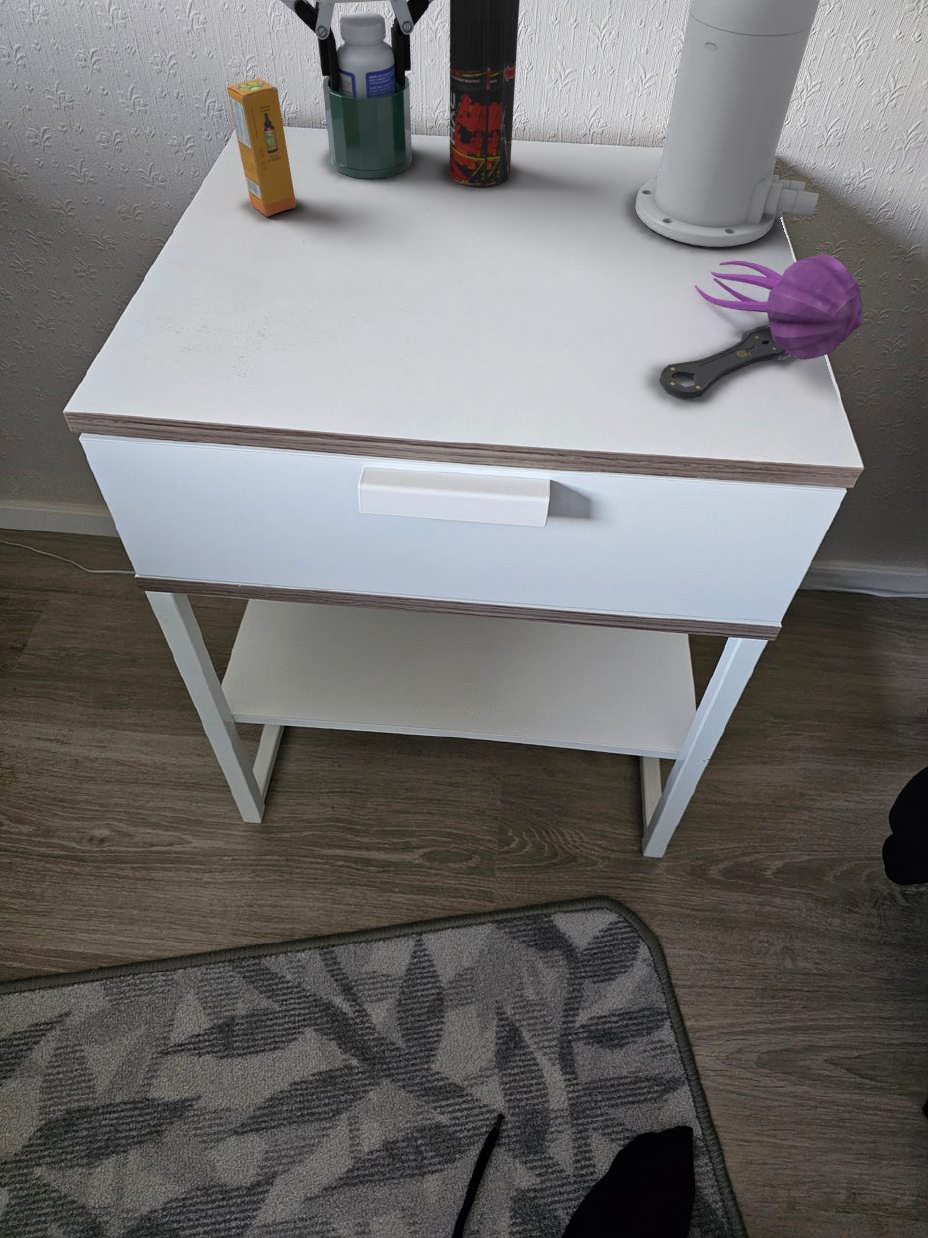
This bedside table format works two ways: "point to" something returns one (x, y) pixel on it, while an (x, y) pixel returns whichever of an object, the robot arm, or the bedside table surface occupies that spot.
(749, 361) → the hex hole wrench
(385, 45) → the pill bottle
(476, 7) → the deodorant
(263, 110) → the supplement box
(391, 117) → the cup
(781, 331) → the jellyfish
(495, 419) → the bedside table surface
